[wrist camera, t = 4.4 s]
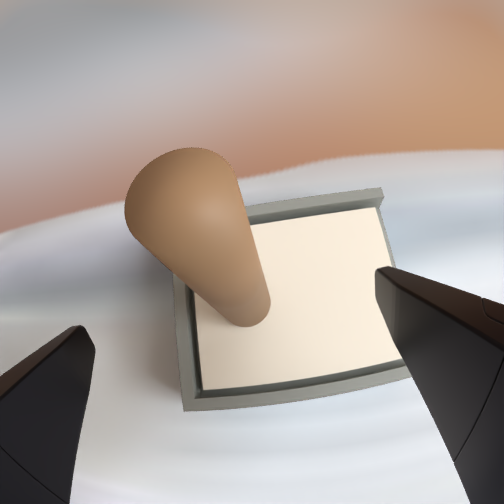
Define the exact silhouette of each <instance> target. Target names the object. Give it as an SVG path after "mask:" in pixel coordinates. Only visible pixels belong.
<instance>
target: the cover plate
mask: <svg viewBox="0 0 504 504" xmlns="http://www.w3.org/2000/svg"><path fill="white" fill-rule="evenodd" d="M124 213H125V220H126V223H127V226H128V228H129V230H130V232H131V233H132V235H133V236H134V237H135V238H136V239H137V240H138V241H139V242H140V243H141V244H142V245H143V246H144V247H145V248H146V249H147V250H149V251H150V252H151V253H152V254H153V255H154V256H155V257H156V258H157V259H158V260H159V261H160V262H162V263H163V264H164V265H165V266H166V267H167V268H168V269H169V270H170V271H172V272H173V273H174V274H175V275H176V276H177V277H178V278H179V279H181V280H182V281H183V282H184V283H185V284H186V285H187V286H188V287H190V288H191V289H192V290H193V291H194V295H195V308H196V321H197V333H198V344H199V354H200V364H201V374H202V383H203V390H211V389H223V388H234V387H244V386H254V385H262V384H270V383H278V382H285V381H292V380H299V379H305V378H311V377H317V376H323V375H328V374H334V373H339V372H344V371H349V370H354V369H359V368H363V367H368V366H372V365H377V364H381V363H385V362H389V361H394V360H398V359H401V358H402V357H401V355H400V353H399V351H398V350H397V348H396V346H395V344H394V342H393V340H392V337H391V335H390V333H389V330H388V328H387V325H386V323H385V320H384V318H383V316H382V313H381V311H380V308H379V306H378V304H377V301H376V297H375V270H376V269H377V268H381V267H385V266H391V267H392V265H391V261H390V257H389V253H388V250H387V246H386V242H385V239H384V235H383V232H382V228H381V225H380V222H379V218H378V215H377V212H376V208H375V207H373V208H365V209H358V210H351V211H344V212H337V213H330V214H323V215H316V216H309V217H303V218H296V219H289V220H283V221H276V222H270V223H263V224H257V225H251V226H250V224H249V220H248V217H247V213H246V210H245V206H244V203H243V199H242V196H241V192H240V189H239V185H238V181H237V178H236V175H235V173H234V170H233V169H232V167H231V165H230V164H229V163H228V162H227V161H226V160H225V159H224V158H223V157H222V156H220V155H218V154H217V153H215V152H213V151H210V150H207V149H202V148H182V149H177V150H173V151H170V152H168V153H165V154H163V155H161V156H159V157H158V158H156V159H154V160H153V161H151V162H150V163H149V164H148V165H147V166H145V167H144V168H143V169H142V170H141V171H140V173H139V174H138V175H137V176H136V178H135V179H134V180H133V182H132V184H131V186H130V188H129V190H128V193H127V197H126V200H125V211H124Z"/></svg>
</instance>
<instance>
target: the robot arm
mask: <svg viewBox="0 0 504 504" xmlns="http://www.w3.org/2000/svg"><path fill="white" fill-rule="evenodd" d="M375 297H376V301H377V304H378V306H379V308H380V311H381V313H382V316H383V318H384V320H385V323H386V325H387V328H388V330H389V333H390V335H391V337H392V340H393V342H394V344H395V346H396V348H397V350H398V351H399V353H400V355H401V357H402V359H403V361H404V363H405V364H406V366H407V368H408V370H409V372H410V374H411V376H412V378H413V380H414V381H415V383H416V385H417V387H418V389H419V391H420V393H421V395H422V397H423V399H424V401H425V403H426V405H427V407H428V409H429V411H430V413H431V415H432V417H433V419H434V421H435V423H436V425H437V428H438V430H439V432H440V434H441V436H442V438H443V440H444V443H445V445H446V447H447V449H448V451H449V454H450V456H451V458H452V460H453V462H454V465H455V468H456V470H457V472H458V474H459V477H460V479H461V482H462V484H463V486H464V489H465V491H466V494H467V496H468V499H469V501H470V504H504V305H503V304H500V303H497V302H494V301H491V300H489V299H486V298H481V297H480V296H477V295H474V294H471V293H468V292H466V291H463V290H460V289H457V288H454V287H451V286H448V285H445V284H442V283H439V282H436V281H433V280H430V279H427V278H424V277H421V276H418V275H415V274H412V273H409V272H406V271H403V270H400V269H397V268H394V267H391V266H385V267H381V268H377V269H376V270H375ZM94 358H95V346H94V344H93V342H92V340H91V338H90V337H89V335H88V333H87V331H86V329H85V328H84V327H83V326H81V325H78V326H72V327H70V328H68V329H67V330H65V331H64V332H62V333H61V334H60V335H58V336H57V337H55V338H54V339H52V340H51V341H49V342H48V343H47V344H45V345H44V346H42V347H41V348H39V349H38V350H36V351H35V352H34V353H32V354H31V355H29V356H28V357H27V358H25V359H24V360H22V361H21V362H19V363H18V364H17V365H15V366H14V367H12V368H11V369H10V370H8V371H7V372H5V373H4V374H3V375H1V376H0V504H69V503H70V494H71V487H72V480H73V473H74V466H75V460H76V454H77V449H78V443H79V438H80V433H81V428H82V423H83V418H84V414H85V409H86V405H87V400H88V396H89V391H90V385H91V378H92V371H93V364H94Z"/></svg>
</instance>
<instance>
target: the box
mask: <svg viewBox="0 0 504 504" xmlns="http://www.w3.org/2000/svg"><path fill="white" fill-rule="evenodd" d="M383 198H384V195H383V192H382V189H381V187H380V188H372V189H364V190H356V191H348V192H340V193H333V194H325V195H318V196H311V197H304V198H297V199H290V200H284V201H277V202H271V203H264V204H258V205H252V206H246V207H245V210H246V213H247V217H248V220H249V224H250V226H251V225H257V224H263V223H270V222H276V221H283V220H289V219H296V218H303V217H309V216H316V215H323V214H330V213H337V212H344V211H351V210H358V209H365V208H373V207H375V208H376V212H377V215H378V218H379V222H380V225H381V228H382V232H383V235H384V239H385V242H386V246H387V250H388V253H389V257H390V261H391V265H392V267H394V268H396V266H395V262H394V258H393V254H392V251H391V247H390V243H389V240H388V236H387V233H386V229H385V226H384V223H383V219H382V216H381V213H380V210H379V207H380V205H381V203H382V200H383ZM173 291H174V309H175V325H176V339H177V351H178V363H179V373H180V383H181V393H182V402H183V410H184V411H208V410H224V409H236V408H247V407H257V406H266V405H275V404H282V403H290V402H296V401H303V400H309V399H315V398H321V397H327V396H332V395H337V394H343V393H347V392H352V391H357V390H362V389H366V388H370V387H375V386H379V385H383V384H387V383H391V382H395V381H399V380H402V379H406V378H410V377H412V376H411V374H410V372H409V370H408V368H407V366H406V364H405V363H404V361H403V359H402V358H401V359H398V360H394V361H389V362H385V363H381V364H377V365H372V366H368V367H363V368H359V369H354V370H349V371H344V372H339V373H334V374H328V375H323V376H317V377H311V378H305V379H299V380H292V381H285V382H278V383H270V384H262V385H254V386H244V387H234V388H223V389H211V390H203V383H202V374H201V364H200V354H199V344H198V333H197V321H196V308H195V295H194V291H193V290H192V289H191V288H190V287H188V286H187V285H186V284H185V283H184V282H183V281H182V280H181V279H179V278H178V277H177V276H176V275H175V274H174V273H173Z"/></svg>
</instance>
